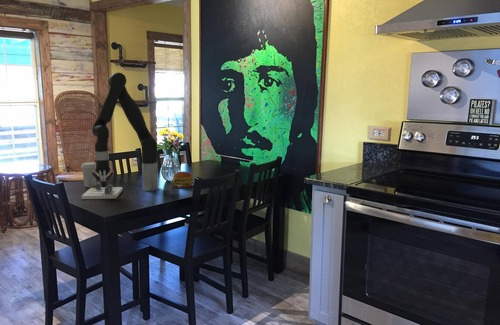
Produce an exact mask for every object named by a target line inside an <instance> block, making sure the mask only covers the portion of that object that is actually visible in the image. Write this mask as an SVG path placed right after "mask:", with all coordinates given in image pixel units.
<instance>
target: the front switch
mask: <svg viewBox="0 0 500 325" xmlns="http://www.w3.org/2000/svg"><path fill="white" fill-rule="evenodd" d="M109 193H110V187H108V185H107V186H106V188H105V194H109Z"/></svg>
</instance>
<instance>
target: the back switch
mask: <svg viewBox="0 0 500 325" xmlns="http://www.w3.org/2000/svg"><path fill="white" fill-rule="evenodd" d="M95 188H96V189H101V188H102V186H101V182H100V181H98V182H96V186H95Z"/></svg>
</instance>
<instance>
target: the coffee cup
mask: <svg viewBox="0 0 500 325" xmlns="http://www.w3.org/2000/svg"><path fill="white" fill-rule="evenodd" d="M80 168H81V169H82V176H83V183H84V184H83V185H84V188H95V187H96V183H97V182H96V181H97V179H96V178H95V177H94V176H93V175H92V173H93V172H94V171H95V169H96V162H92V161H91V162H83V163H82V164H81V166H80Z"/></svg>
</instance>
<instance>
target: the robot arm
mask: <svg viewBox="0 0 500 325" xmlns="http://www.w3.org/2000/svg"><path fill="white" fill-rule="evenodd" d="M107 82H108V86H109V91H108V93H107V96H106V98H105V100H104V102H103V104H102V106H101V108H100V111H99V115H98V116H97V118H96V120H95V122H94V123H93V126H92V130H91V131H92V134H93V135H94V136H95V137H97V140H96V142H95V143H94V147H95V153H94V155H95V157H94V159H95V164H96V169H95V171H94V172H93V173H92V175H93V176H94V177H95V178H96V181H98V182H100V183H101V188H102V187H103V188H105V187H107V186H108V185H107V181H109V180H110V179H111V178H112V176H113V175H114V174H115V171H114V170H111V168H110V156H109V155H110V154H109V147H108V145H109V144H108V143H109V138H110V137H109V136H110V131H109V128H108V126H107V124H108V123H110V122H111V121H112V117H113V116H114V113H115V112H114V111H115V109H116V105H117V103H118V102H119V104H120V106H121V108H122V110H123V113H124V115H125V117H126V119H127V120H128V123H129V124H130V125H131V127H132V128H133V130H134V131H135V133H136V135H137V137H138V140H139V142H140V146H141V169H142V170H141V172H142V174H141V176H142V190H143V191H146V192H154V191H158V190H159V173H158V144H157V140H156V139H155V138H154V136H153V135H152V133H151V132H150V131H149V129H148V127H147V124H146V122H145V118H144V115H143V113H142V111H141V109H140V108H139V105H138V103H137V102H136V101H135V100H134V98H133V97H131V95H130V93H129V92H128V90H127V87H126V85H127V77H126V75H125V74H123V73H122V72H115V73H114V72H113V74H110V76H109V77H108V80H107ZM108 174H109V175H108ZM107 176H108V177H107Z"/></svg>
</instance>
